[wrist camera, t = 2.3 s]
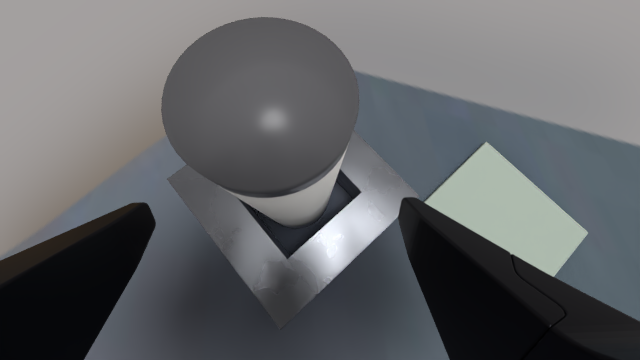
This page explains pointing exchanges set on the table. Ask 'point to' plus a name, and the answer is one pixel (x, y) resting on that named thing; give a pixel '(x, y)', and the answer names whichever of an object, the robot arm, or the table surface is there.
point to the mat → (508, 210)
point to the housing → (319, 251)
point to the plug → (264, 114)
